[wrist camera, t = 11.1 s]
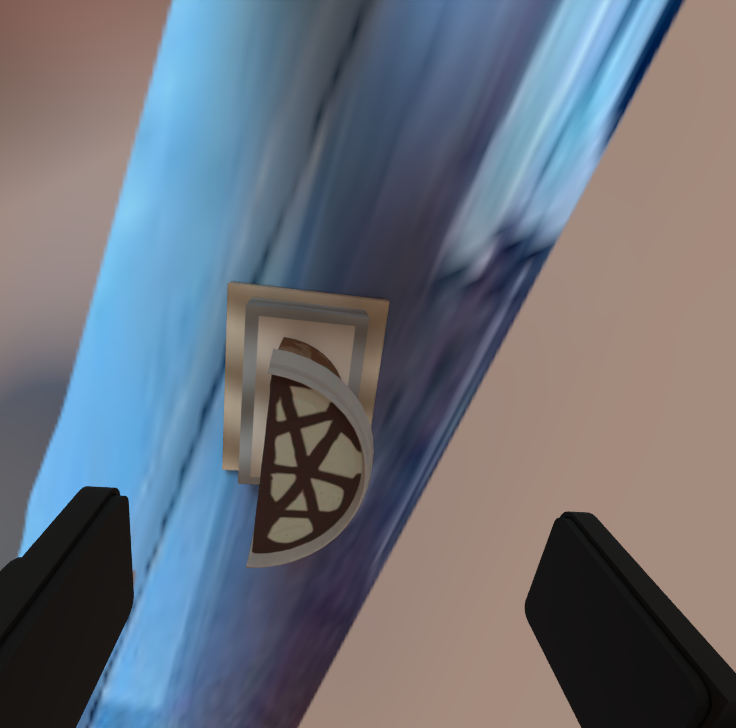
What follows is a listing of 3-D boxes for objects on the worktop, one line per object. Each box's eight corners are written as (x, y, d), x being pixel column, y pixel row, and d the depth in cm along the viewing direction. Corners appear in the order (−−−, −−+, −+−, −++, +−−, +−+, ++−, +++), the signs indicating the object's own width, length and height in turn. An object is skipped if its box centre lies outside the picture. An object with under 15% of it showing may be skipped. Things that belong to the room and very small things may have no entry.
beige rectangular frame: (230, 281, 31) (217, 289, 27) (387, 299, 33) (396, 309, 29) (225, 463, 36) (213, 491, 32) (362, 470, 37) (367, 498, 34)
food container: (346, 479, 33) (357, 581, 23) (267, 471, 32) (245, 575, 22) (374, 328, 29) (399, 378, 20) (286, 315, 28) (268, 361, 19)
